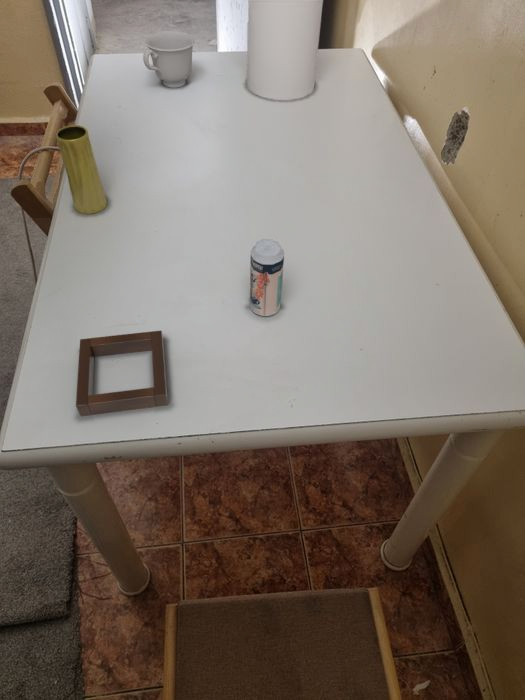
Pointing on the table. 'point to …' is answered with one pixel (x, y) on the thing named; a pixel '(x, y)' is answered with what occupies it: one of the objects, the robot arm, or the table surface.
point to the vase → (81, 169)
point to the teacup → (170, 56)
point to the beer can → (266, 277)
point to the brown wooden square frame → (122, 399)
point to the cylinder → (282, 47)
